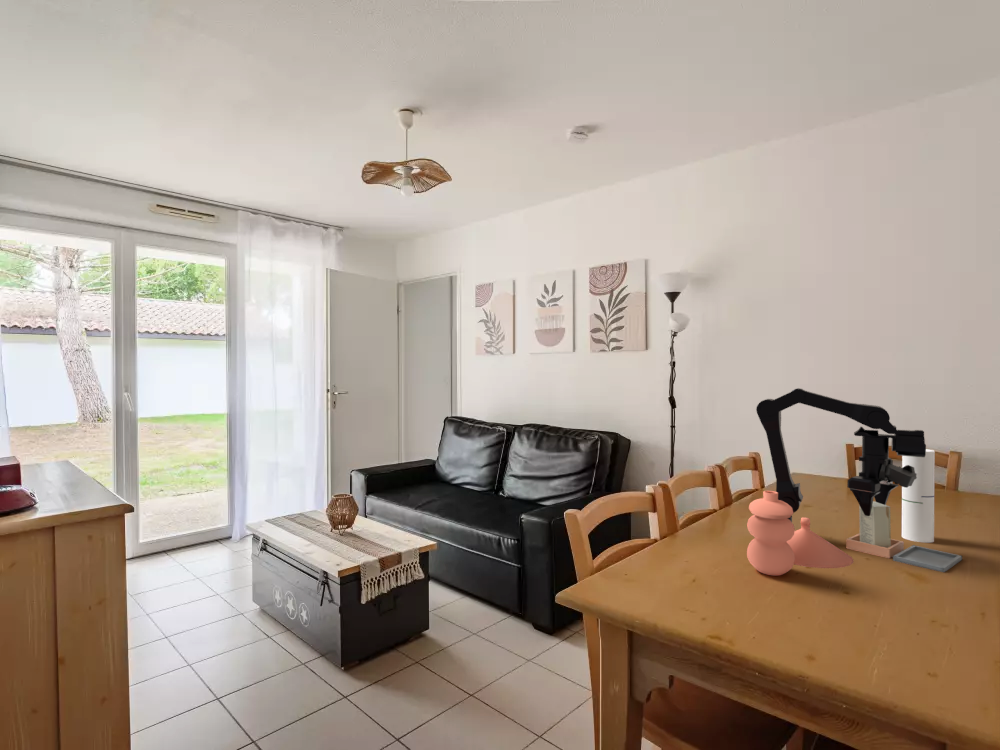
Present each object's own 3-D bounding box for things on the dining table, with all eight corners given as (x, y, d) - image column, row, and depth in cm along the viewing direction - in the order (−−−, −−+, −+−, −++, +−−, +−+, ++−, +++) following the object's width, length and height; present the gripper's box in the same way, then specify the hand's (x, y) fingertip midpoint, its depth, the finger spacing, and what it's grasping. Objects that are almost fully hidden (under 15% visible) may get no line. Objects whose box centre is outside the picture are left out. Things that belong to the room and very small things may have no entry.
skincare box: (891, 554, 137) (892, 506, 137) (874, 554, 137) (874, 506, 137) (874, 545, 144) (875, 500, 144) (858, 545, 144) (858, 500, 144)
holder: (889, 559, 134) (889, 549, 134) (846, 548, 142) (846, 539, 142) (903, 551, 139) (903, 541, 139) (861, 541, 147) (861, 532, 147)
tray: (943, 573, 124) (943, 568, 124) (893, 561, 132) (893, 556, 132) (962, 561, 132) (962, 555, 132) (913, 549, 140) (913, 545, 140)
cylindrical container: (939, 543, 145) (940, 452, 145) (910, 542, 147) (910, 451, 146) (924, 535, 152) (925, 448, 152) (896, 534, 154) (897, 447, 153)
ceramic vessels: (781, 535, 153) (781, 469, 152) (866, 555, 136) (867, 482, 136) (716, 563, 131) (717, 487, 130) (809, 592, 114) (810, 504, 114)
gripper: (898, 462, 128) (897, 526, 128) (925, 454, 139) (924, 514, 139) (846, 455, 137) (846, 516, 137) (875, 449, 148) (875, 505, 148)
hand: (874, 512), depth 140 cm, fingers open, 9 cm apart
